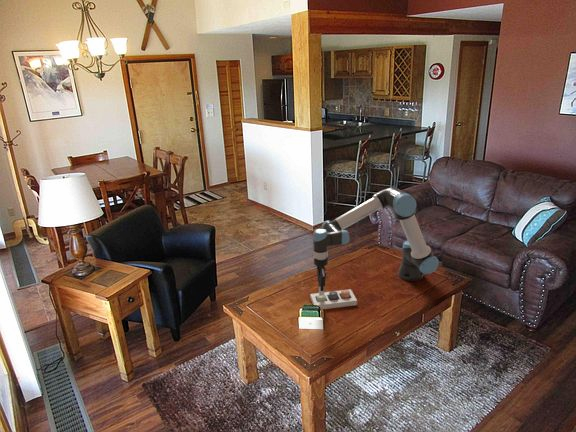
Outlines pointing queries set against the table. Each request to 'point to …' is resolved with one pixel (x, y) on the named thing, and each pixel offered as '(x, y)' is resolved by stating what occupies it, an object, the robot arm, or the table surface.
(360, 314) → the table surface
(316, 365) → the table surface
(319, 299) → the button sage
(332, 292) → the button charcoal
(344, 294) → the button terracotta
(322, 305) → the board
